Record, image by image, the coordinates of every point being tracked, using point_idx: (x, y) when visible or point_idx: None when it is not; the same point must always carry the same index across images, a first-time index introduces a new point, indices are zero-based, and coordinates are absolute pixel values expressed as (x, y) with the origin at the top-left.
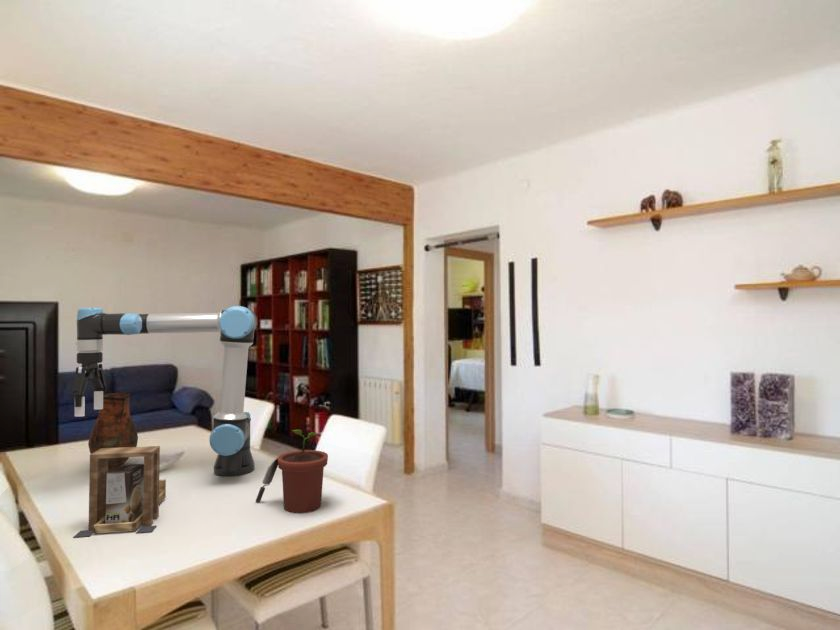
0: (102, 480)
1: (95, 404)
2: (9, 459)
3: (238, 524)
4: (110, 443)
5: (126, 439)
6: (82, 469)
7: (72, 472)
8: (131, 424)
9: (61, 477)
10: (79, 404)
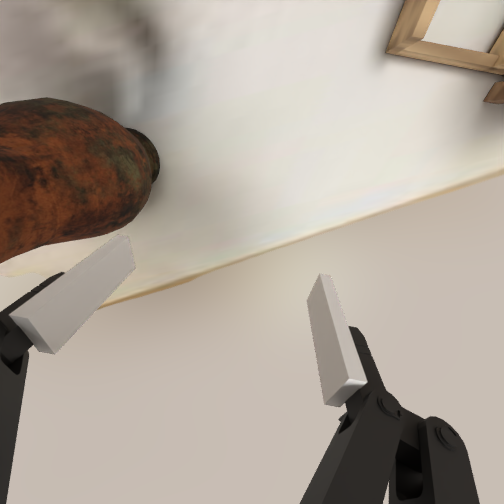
0: None
1: (117, 279)
2: None
3: None
4: (134, 171)
5: (96, 126)
6: None
7: (143, 229)
8: (8, 117)
9: (170, 237)
10: (365, 343)
